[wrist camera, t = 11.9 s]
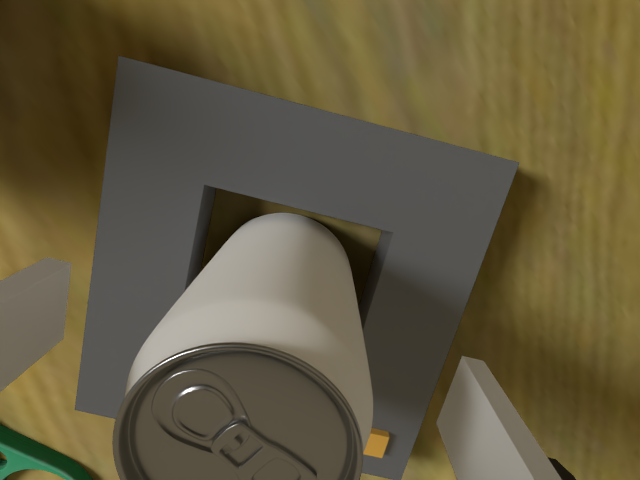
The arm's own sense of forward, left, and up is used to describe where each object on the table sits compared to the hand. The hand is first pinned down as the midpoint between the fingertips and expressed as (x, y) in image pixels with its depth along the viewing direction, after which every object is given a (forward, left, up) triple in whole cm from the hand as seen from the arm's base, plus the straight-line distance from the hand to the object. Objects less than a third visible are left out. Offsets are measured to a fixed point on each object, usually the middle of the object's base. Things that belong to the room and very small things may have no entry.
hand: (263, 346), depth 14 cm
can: (0, 0, -7) cm, 7 cm away
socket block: (0, 0, -7) cm, 7 cm away
